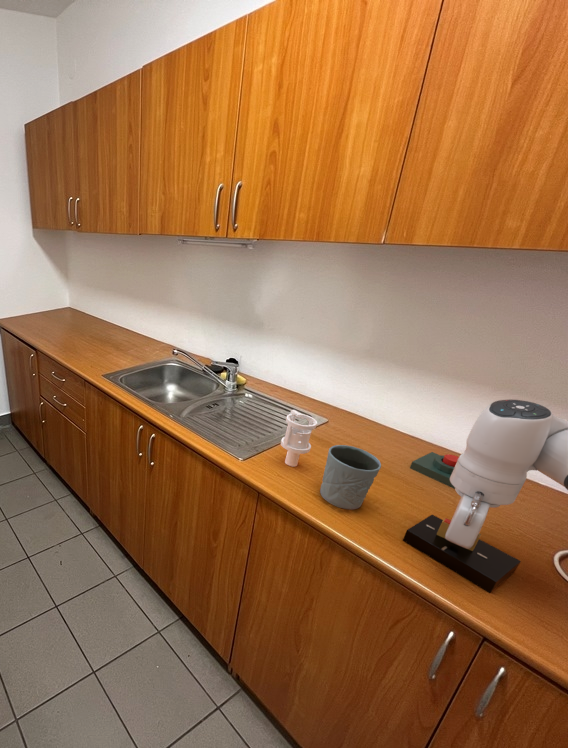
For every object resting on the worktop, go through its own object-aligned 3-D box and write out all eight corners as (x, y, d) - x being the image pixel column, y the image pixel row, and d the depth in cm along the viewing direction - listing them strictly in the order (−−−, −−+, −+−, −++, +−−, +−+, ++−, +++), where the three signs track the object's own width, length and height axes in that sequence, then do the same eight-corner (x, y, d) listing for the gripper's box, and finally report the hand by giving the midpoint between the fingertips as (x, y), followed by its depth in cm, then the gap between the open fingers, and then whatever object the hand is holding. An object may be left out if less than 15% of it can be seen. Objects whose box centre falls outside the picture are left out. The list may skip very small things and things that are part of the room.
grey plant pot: (316, 480, 102) (327, 440, 98) (363, 491, 98) (377, 451, 93) (318, 504, 94) (330, 462, 89) (370, 518, 90) (385, 474, 85)
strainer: (292, 454, 113) (303, 408, 107) (311, 468, 107) (324, 420, 101) (271, 457, 112) (281, 411, 106) (289, 472, 105) (301, 423, 100)
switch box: (485, 482, 100) (492, 469, 99) (466, 494, 96) (472, 481, 95) (429, 458, 110) (434, 446, 109) (409, 468, 106) (414, 455, 105)
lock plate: (514, 572, 76) (521, 560, 75) (489, 593, 72) (496, 581, 71) (427, 524, 88) (432, 513, 86) (402, 540, 84) (407, 529, 82)
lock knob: (474, 547, 78) (481, 533, 76) (472, 551, 77) (480, 537, 75) (438, 531, 82) (444, 517, 80) (436, 534, 81) (442, 520, 80)
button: (463, 465, 101) (466, 460, 100) (456, 469, 100) (459, 463, 99) (446, 458, 104) (448, 452, 103) (439, 462, 103) (441, 456, 102)
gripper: (501, 517, 65) (469, 577, 71) (514, 468, 77) (486, 522, 83) (450, 498, 70) (424, 555, 75) (470, 454, 82) (446, 506, 87)
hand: (457, 538), depth 79 cm, fingers closed on lock knob, 2 cm apart
